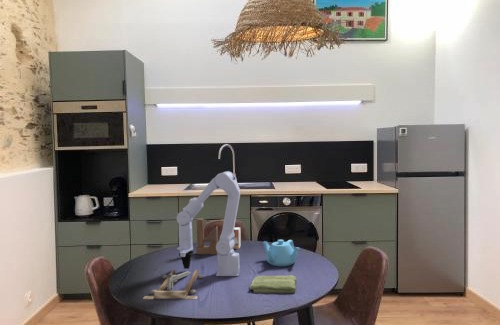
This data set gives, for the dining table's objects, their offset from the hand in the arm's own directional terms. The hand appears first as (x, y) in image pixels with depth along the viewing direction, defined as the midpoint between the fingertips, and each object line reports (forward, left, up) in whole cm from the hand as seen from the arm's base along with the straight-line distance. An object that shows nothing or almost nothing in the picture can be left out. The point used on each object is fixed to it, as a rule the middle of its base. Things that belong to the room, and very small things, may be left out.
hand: (186, 268), depth 168 cm
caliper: (0, +12, -2) cm, 12 cm away
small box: (-17, -37, -2) cm, 41 cm away
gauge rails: (0, +15, -1) cm, 15 cm away
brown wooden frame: (-5, -26, -2) cm, 27 cm away
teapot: (-42, -11, -2) cm, 44 cm away
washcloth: (-38, +18, -2) cm, 42 cm away
